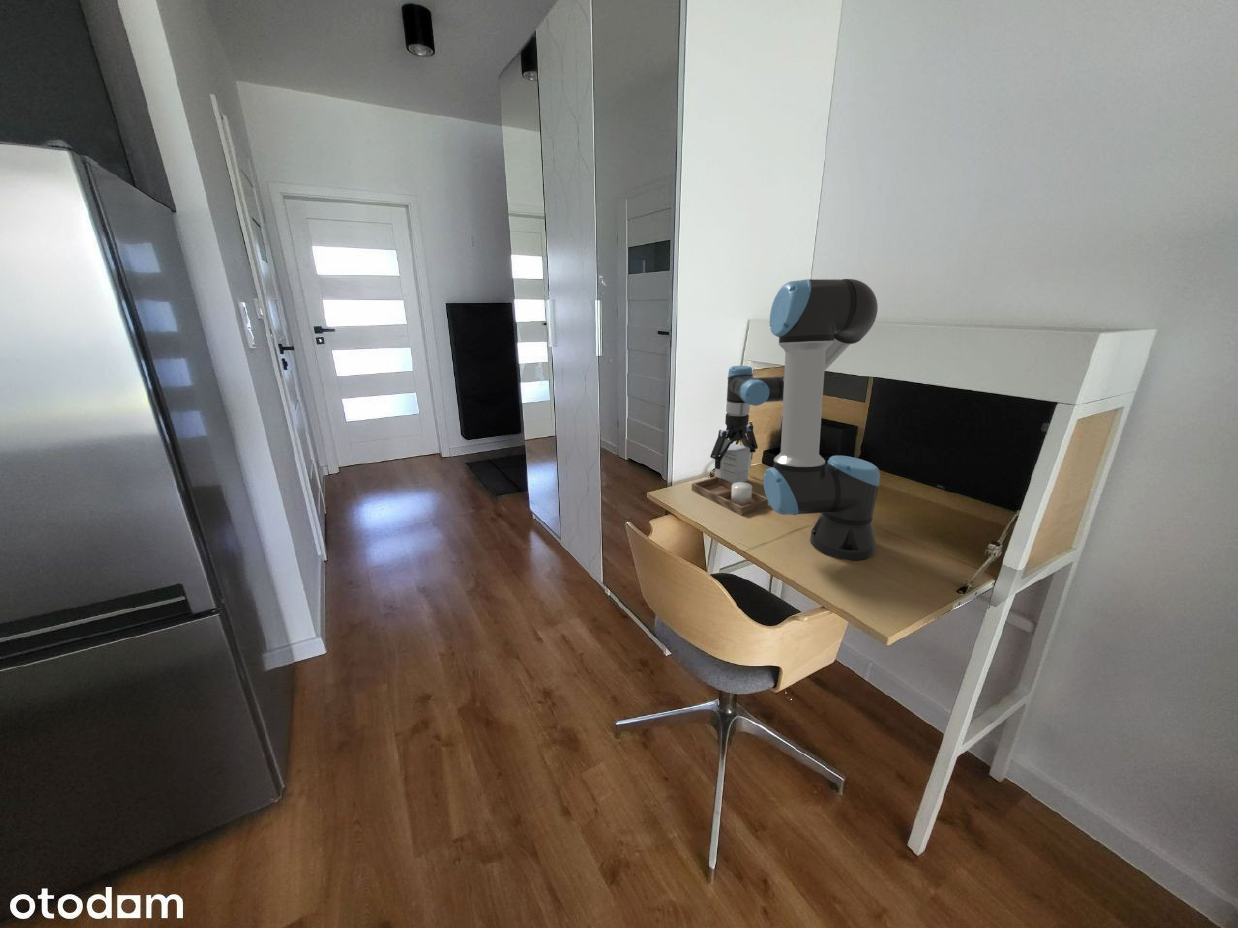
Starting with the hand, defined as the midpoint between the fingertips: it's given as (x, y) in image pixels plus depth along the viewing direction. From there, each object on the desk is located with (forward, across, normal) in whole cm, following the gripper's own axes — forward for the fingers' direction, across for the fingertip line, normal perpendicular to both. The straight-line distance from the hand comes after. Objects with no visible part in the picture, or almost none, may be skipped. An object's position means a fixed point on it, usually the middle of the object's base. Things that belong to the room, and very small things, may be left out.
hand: (733, 473), depth 159 cm
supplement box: (+3, 0, 0) cm, 3 cm away
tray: (+3, +12, +10) cm, 16 cm away
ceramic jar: (+3, +12, +16) cm, 20 cm away
